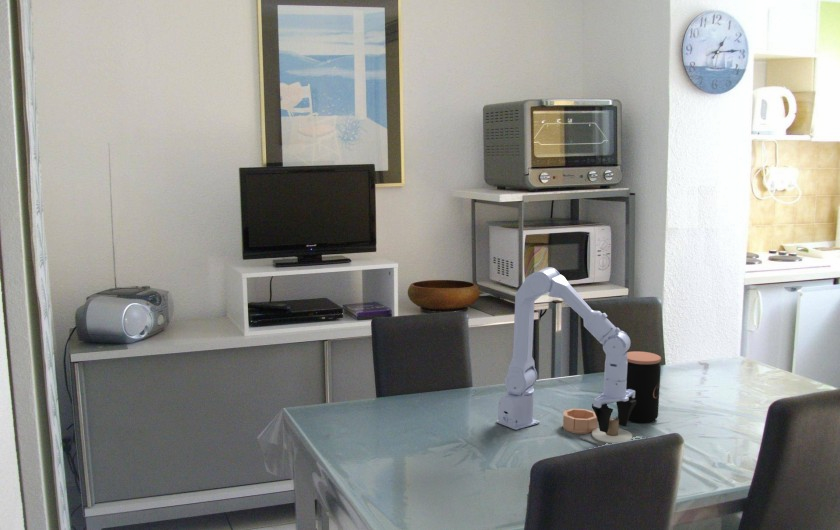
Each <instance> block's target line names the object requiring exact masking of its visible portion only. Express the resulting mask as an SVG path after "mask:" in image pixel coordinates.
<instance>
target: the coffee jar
mask: <svg viewBox="0 0 840 530" xmlns="http://www.w3.org/2000/svg"><path fill="white" fill-rule="evenodd" d="M626 352H627V353H628V356H627V357H628V358H627V362H628V365H627V384H626V390H628V389H631V390H634V391H635V398H632V399H633V400H636V405H635V406H634V408H633V410H632V411H631V414H630V416H629V419H628V422H629V421H630V423H633V422H636V424H651V423H654V422H655V421H656V419H658V417H659V408H660V407H659V405H660V387H661V369H662V368H661V367H662V366H661V364H660V363H661V361H662V357H661V355H658V354H656V353H653V352H649V351H648V352H647V351H639V350H638V351H635V350H634V351H626Z"/></svg>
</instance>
